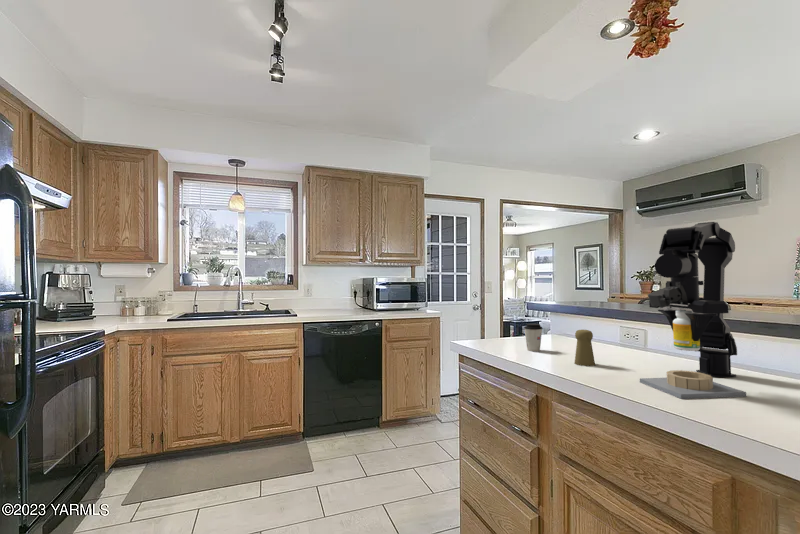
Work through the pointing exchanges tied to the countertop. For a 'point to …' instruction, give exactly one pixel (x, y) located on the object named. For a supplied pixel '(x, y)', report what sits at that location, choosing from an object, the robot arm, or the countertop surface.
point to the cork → (584, 348)
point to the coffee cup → (533, 336)
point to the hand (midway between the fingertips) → (686, 339)
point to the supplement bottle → (684, 332)
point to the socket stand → (691, 385)
